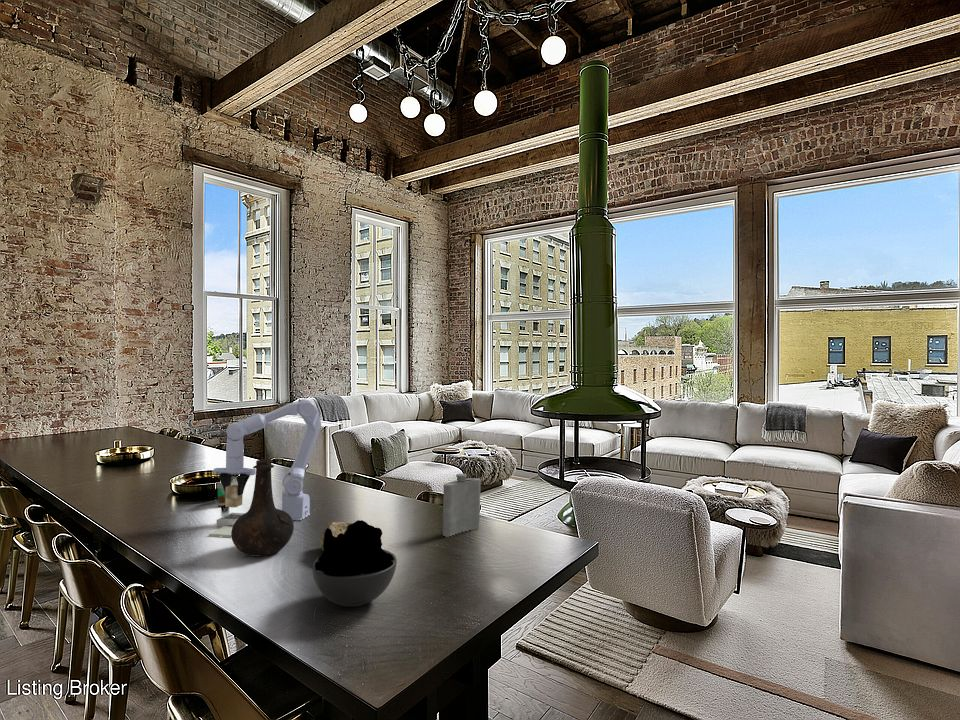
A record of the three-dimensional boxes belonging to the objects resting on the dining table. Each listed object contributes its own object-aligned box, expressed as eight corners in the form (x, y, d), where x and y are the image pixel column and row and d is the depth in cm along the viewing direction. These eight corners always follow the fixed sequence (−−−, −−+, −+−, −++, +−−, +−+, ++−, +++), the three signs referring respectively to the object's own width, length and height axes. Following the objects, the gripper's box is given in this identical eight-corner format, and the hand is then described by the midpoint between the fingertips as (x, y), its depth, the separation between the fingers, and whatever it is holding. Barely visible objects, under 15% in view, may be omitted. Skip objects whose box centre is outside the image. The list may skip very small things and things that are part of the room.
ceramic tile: (248, 530, 177) (248, 527, 177) (234, 537, 169) (234, 535, 169) (223, 528, 178) (223, 526, 178) (209, 536, 170) (209, 533, 170)
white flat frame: (267, 521, 186) (267, 514, 186) (253, 529, 178) (254, 522, 178) (231, 519, 188) (232, 512, 188) (216, 527, 179) (216, 519, 179)
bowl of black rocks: (400, 584, 135) (401, 513, 135) (389, 623, 115) (391, 539, 115) (324, 584, 134) (325, 512, 135) (299, 623, 114) (301, 538, 115)
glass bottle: (271, 564, 147) (273, 467, 147) (216, 559, 151) (218, 463, 151) (304, 543, 164) (306, 456, 165) (255, 539, 168) (256, 453, 168)
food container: (231, 508, 202) (232, 483, 202) (216, 508, 202) (216, 483, 202) (246, 500, 214) (247, 476, 214) (232, 500, 214) (232, 476, 214)
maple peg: (242, 504, 185) (242, 485, 185) (235, 507, 181) (236, 487, 181) (232, 503, 186) (232, 484, 186) (225, 506, 182) (225, 487, 182)
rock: (388, 560, 154) (383, 531, 152) (344, 584, 145) (339, 553, 143) (355, 535, 169) (350, 508, 167) (313, 556, 160) (308, 527, 158)
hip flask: (446, 537, 172) (447, 478, 172) (439, 534, 175) (440, 476, 175) (481, 528, 183) (482, 472, 183) (473, 525, 186) (474, 470, 186)
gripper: (260, 455, 187) (259, 492, 187) (221, 454, 188) (220, 491, 188) (250, 458, 180) (249, 497, 180) (210, 457, 181) (209, 496, 181)
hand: (234, 494), depth 183 cm, fingers closed on maple peg, 4 cm apart
